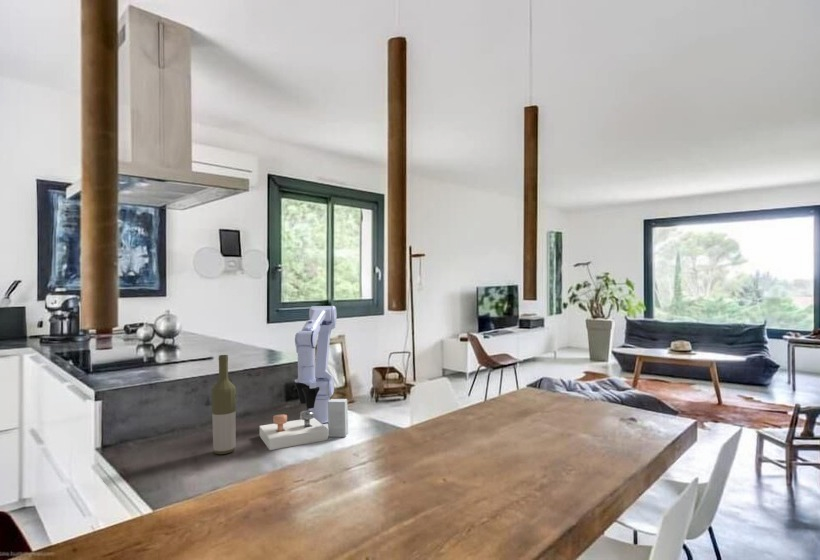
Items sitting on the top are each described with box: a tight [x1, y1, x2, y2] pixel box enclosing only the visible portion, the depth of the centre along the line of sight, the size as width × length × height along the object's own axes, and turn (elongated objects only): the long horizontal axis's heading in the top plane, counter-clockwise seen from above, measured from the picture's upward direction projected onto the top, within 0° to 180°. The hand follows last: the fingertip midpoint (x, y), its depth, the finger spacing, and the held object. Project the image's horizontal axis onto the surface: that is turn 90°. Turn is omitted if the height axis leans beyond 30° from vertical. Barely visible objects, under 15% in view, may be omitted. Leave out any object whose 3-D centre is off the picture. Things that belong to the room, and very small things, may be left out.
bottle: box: [211, 354, 237, 455], centre depth 144 cm, size 7×7×30 cm
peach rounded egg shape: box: [272, 413, 288, 432], centre depth 153 cm, size 4×4×5 cm
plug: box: [299, 409, 314, 428], centre depth 157 cm, size 4×4×5 cm
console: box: [259, 418, 329, 451], centre depth 156 cm, size 16×19×4 cm
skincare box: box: [327, 398, 349, 438], centre depth 158 cm, size 6×4×12 cm
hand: (307, 405), depth 157 cm, fingers open, 7 cm apart
